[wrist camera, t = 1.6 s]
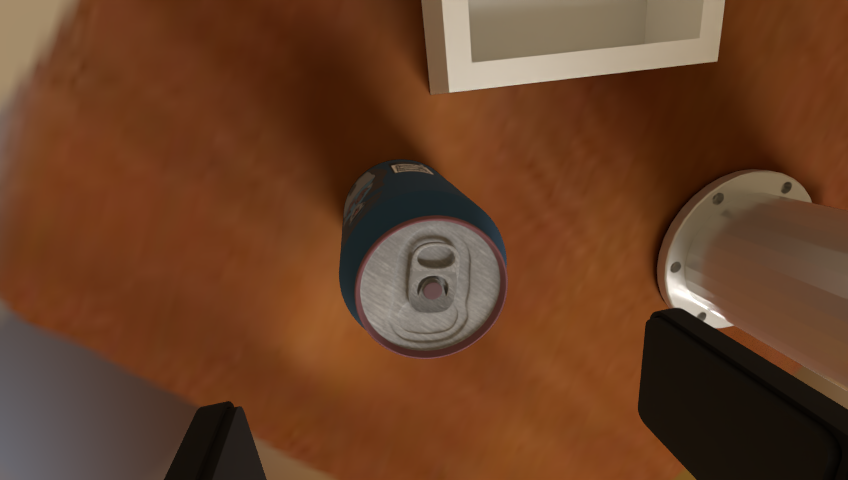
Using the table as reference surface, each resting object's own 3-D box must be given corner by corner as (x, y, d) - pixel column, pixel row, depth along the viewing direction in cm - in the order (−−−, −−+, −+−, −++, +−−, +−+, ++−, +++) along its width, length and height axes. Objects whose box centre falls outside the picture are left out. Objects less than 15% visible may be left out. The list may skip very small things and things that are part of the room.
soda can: (445, 262, 28) (508, 370, 16) (342, 260, 26) (335, 376, 15) (456, 160, 26) (538, 205, 14) (345, 152, 24) (339, 195, 13)
